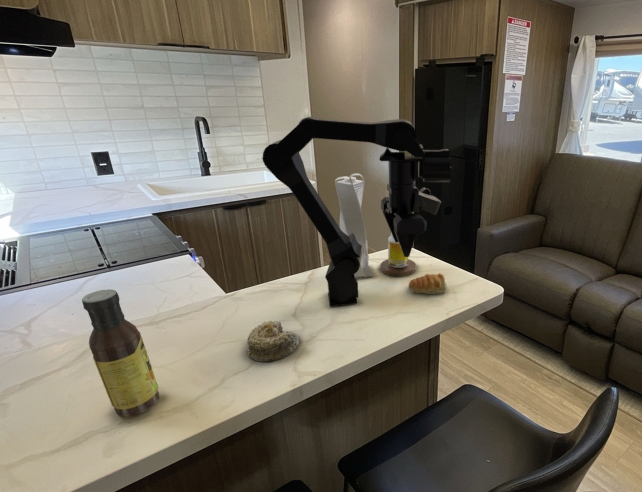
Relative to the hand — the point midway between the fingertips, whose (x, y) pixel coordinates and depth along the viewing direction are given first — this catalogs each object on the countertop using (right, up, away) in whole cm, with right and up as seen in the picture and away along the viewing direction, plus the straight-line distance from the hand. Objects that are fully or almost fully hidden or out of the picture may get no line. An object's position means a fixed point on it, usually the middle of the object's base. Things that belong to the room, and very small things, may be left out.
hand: (401, 249), depth 92 cm
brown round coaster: (-2, -5, +21) cm, 22 cm away
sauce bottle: (-41, -26, -28) cm, 56 cm away
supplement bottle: (-2, -4, +20) cm, 21 cm away
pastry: (+7, -10, +10) cm, 16 cm away
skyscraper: (-13, -6, +17) cm, 23 cm away
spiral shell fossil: (-25, -20, -13) cm, 34 cm away
